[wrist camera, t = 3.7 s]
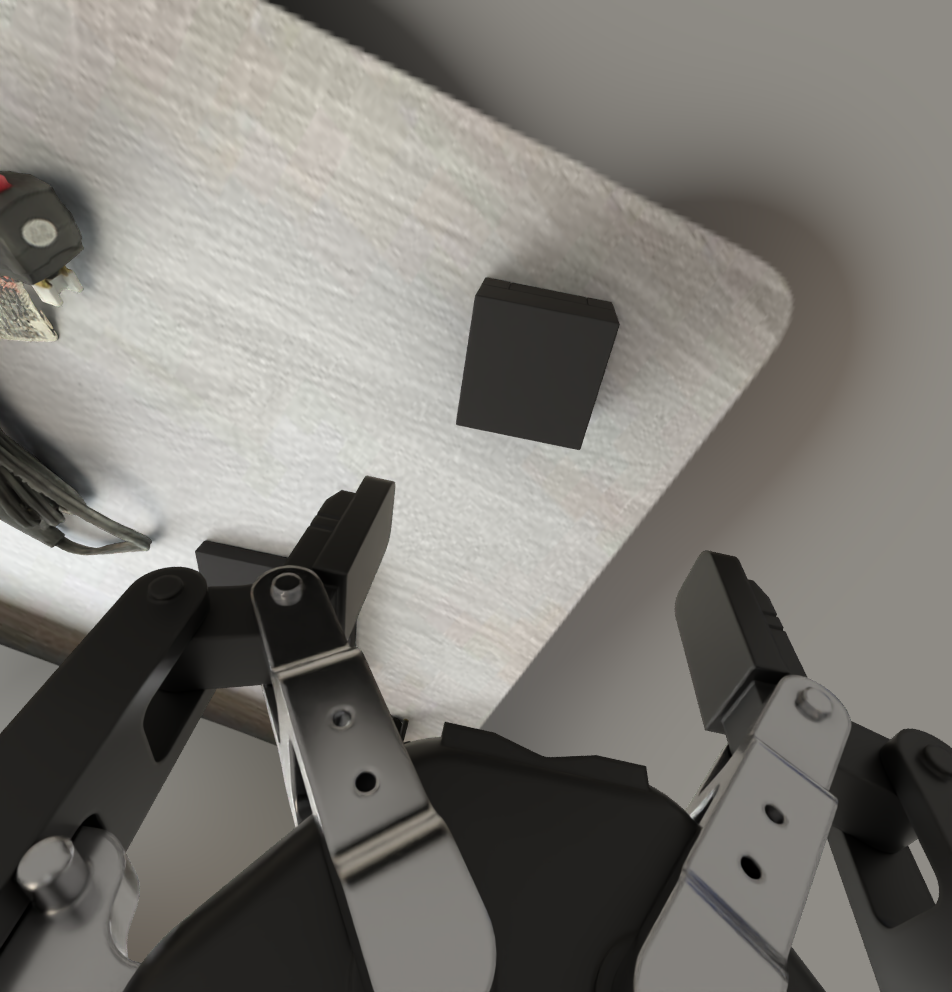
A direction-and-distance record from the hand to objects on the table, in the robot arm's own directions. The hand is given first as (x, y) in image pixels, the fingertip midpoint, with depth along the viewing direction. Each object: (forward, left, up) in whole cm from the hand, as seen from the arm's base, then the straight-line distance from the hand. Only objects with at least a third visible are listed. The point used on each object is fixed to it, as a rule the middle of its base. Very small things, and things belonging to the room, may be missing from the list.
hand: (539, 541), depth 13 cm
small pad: (+1, 0, -15) cm, 15 cm away
